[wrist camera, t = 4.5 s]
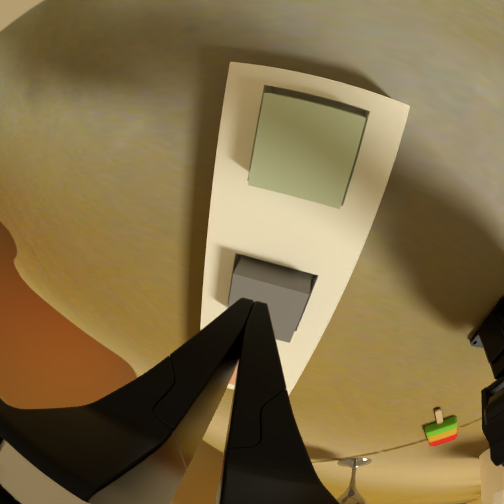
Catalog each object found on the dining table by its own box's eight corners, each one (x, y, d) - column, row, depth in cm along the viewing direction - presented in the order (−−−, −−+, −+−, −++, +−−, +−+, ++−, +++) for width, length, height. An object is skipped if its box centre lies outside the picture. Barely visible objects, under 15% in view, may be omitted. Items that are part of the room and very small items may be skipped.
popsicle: (429, 439, 36) (429, 448, 34) (419, 410, 31) (420, 421, 29) (456, 430, 33) (457, 439, 31) (454, 398, 28) (456, 409, 27)
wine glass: (371, 466, 44) (365, 525, 32) (336, 467, 47) (326, 526, 34) (375, 456, 41) (368, 523, 28) (335, 458, 43) (324, 524, 31)
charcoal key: (311, 271, 20) (309, 294, 18) (293, 319, 23) (289, 342, 21) (243, 253, 20) (233, 273, 18) (234, 303, 23) (225, 324, 21)
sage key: (359, 114, 14) (365, 118, 12) (337, 193, 17) (339, 209, 15) (272, 92, 14) (264, 92, 12) (257, 172, 17) (247, 185, 15)
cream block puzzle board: (397, 103, 14) (410, 106, 12) (288, 383, 31) (284, 402, 29) (243, 65, 15) (230, 61, 13) (206, 359, 32) (198, 378, 30)
